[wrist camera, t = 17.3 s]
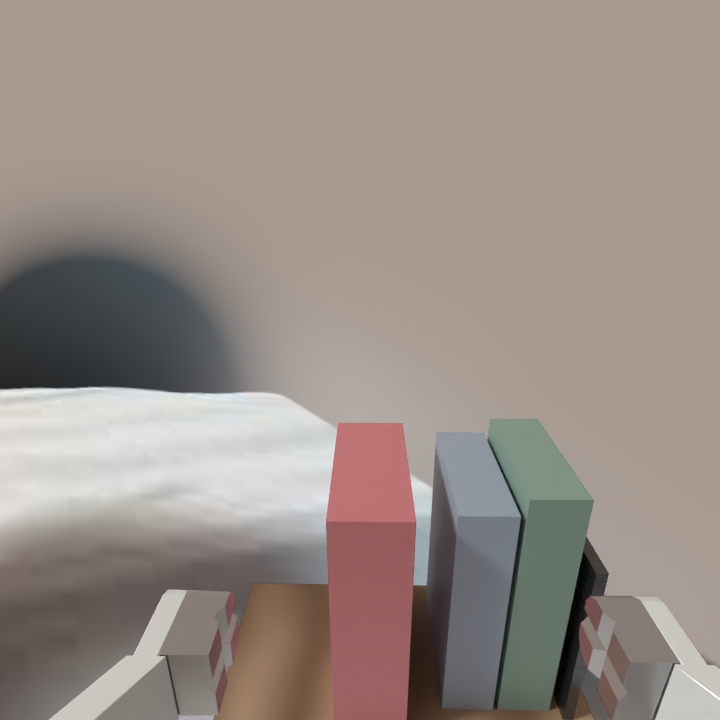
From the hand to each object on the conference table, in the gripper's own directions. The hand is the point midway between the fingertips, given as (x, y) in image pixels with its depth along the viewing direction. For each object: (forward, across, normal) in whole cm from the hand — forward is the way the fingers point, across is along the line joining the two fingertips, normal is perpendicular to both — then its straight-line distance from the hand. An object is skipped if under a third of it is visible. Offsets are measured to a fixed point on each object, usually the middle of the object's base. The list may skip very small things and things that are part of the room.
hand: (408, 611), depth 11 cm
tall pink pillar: (+13, -1, -20) cm, 24 cm away
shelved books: (+14, +7, -20) cm, 26 cm away
